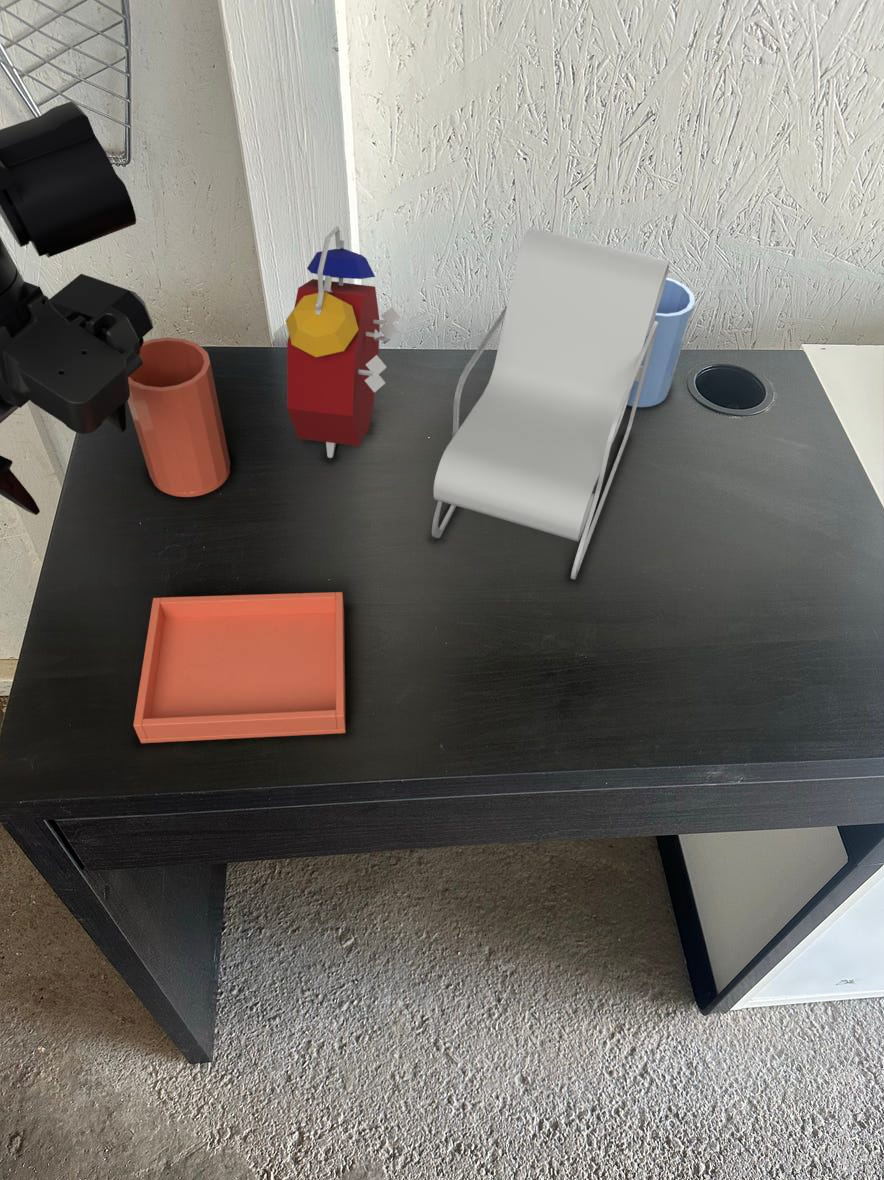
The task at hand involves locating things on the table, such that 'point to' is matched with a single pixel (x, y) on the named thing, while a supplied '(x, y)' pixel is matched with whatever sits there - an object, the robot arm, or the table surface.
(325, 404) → the alarm clock
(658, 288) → the chair
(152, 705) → the coral tray
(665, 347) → the blue cup
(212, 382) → the coral cup
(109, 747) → the table surface
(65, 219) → the robot arm
